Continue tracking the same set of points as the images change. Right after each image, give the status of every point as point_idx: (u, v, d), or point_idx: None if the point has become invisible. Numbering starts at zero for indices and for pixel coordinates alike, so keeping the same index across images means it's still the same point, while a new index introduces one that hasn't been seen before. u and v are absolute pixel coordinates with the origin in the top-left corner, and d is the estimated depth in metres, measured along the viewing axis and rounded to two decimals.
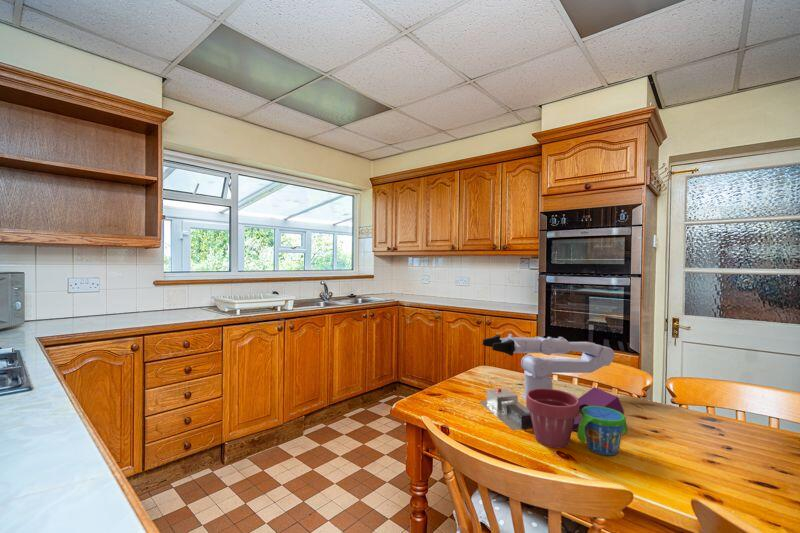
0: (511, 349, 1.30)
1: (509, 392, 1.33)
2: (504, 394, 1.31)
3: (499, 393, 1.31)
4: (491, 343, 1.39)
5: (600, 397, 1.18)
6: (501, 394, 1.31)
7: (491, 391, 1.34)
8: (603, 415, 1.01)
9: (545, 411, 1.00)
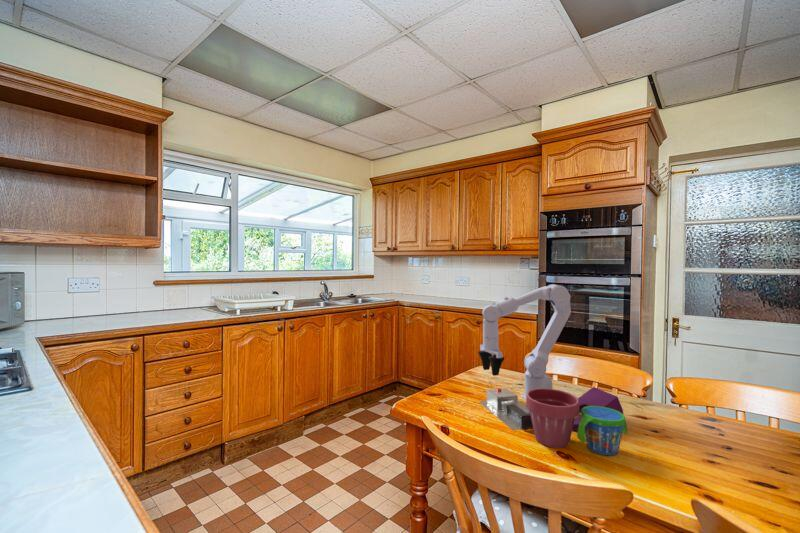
0: None
1: (509, 392, 1.33)
2: (504, 394, 1.31)
3: (499, 393, 1.31)
4: (487, 361, 1.45)
5: (599, 397, 1.18)
6: (501, 394, 1.31)
7: (491, 391, 1.34)
8: (603, 415, 1.01)
9: (545, 411, 1.00)
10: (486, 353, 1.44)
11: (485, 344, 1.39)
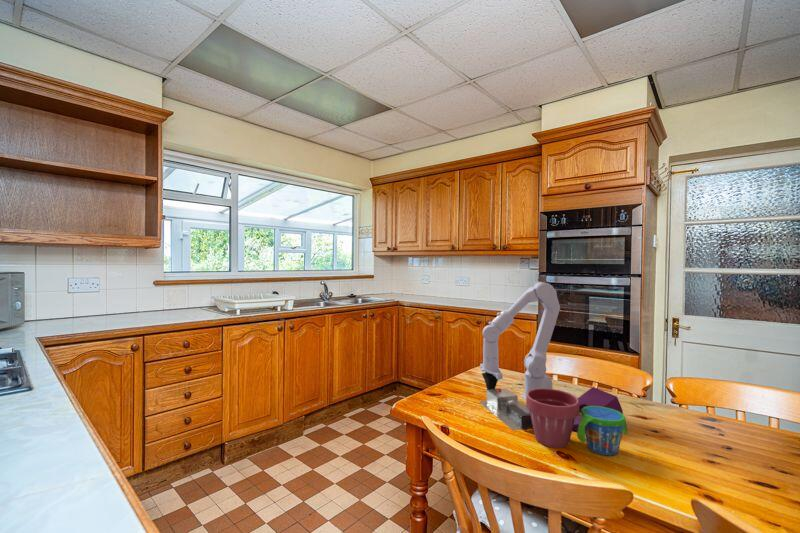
0: None
1: (509, 392, 1.33)
2: (504, 394, 1.31)
3: (499, 393, 1.31)
4: None
5: (599, 396, 1.18)
6: (501, 394, 1.31)
7: (491, 391, 1.34)
8: (603, 415, 1.01)
9: (545, 411, 1.00)
10: None
11: (485, 364, 1.39)
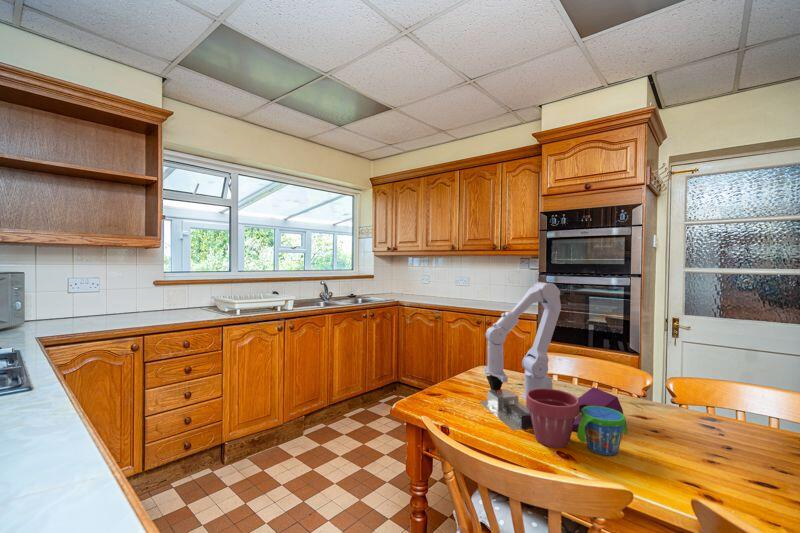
0: None
1: (510, 393, 1.32)
2: (505, 395, 1.30)
3: (499, 394, 1.31)
4: None
5: (599, 397, 1.18)
6: (502, 395, 1.30)
7: (492, 392, 1.33)
8: (603, 415, 1.01)
9: (545, 411, 1.00)
10: None
11: (490, 367, 1.36)
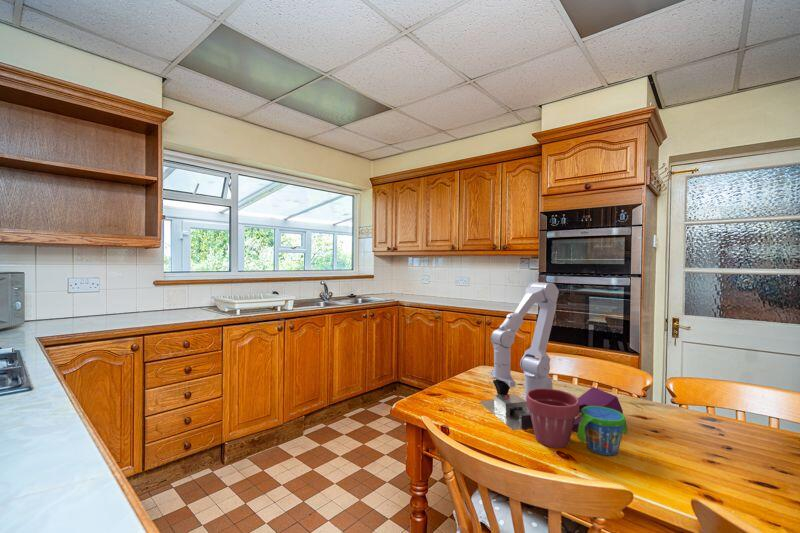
0: None
1: (518, 398, 1.27)
2: (513, 400, 1.25)
3: (507, 399, 1.26)
4: None
5: (599, 396, 1.18)
6: (509, 400, 1.25)
7: (499, 397, 1.28)
8: (603, 415, 1.01)
9: (545, 411, 1.00)
10: None
11: (496, 371, 1.31)
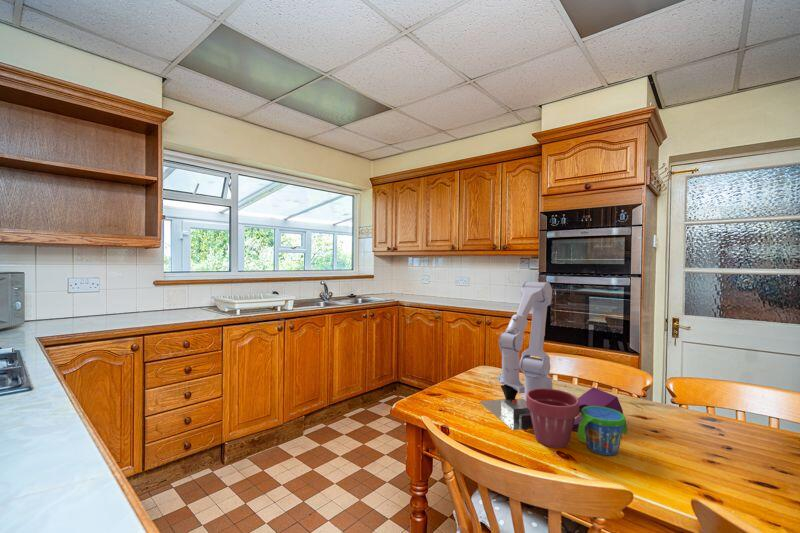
0: None
1: None
2: (521, 405, 1.20)
3: (514, 405, 1.21)
4: (511, 397, 1.27)
5: (599, 397, 1.18)
6: (517, 405, 1.21)
7: (506, 402, 1.24)
8: (603, 415, 1.01)
9: (545, 411, 1.00)
10: None
11: (505, 376, 1.25)
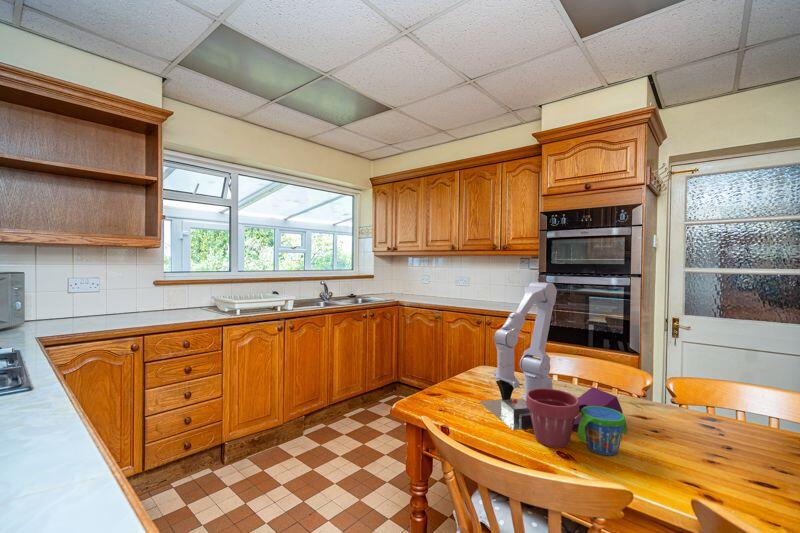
0: None
1: None
2: (521, 406, 1.20)
3: (514, 405, 1.21)
4: None
5: (599, 397, 1.18)
6: (517, 405, 1.20)
7: (506, 402, 1.24)
8: (603, 415, 1.01)
9: (545, 411, 1.00)
10: None
11: (500, 371, 1.28)
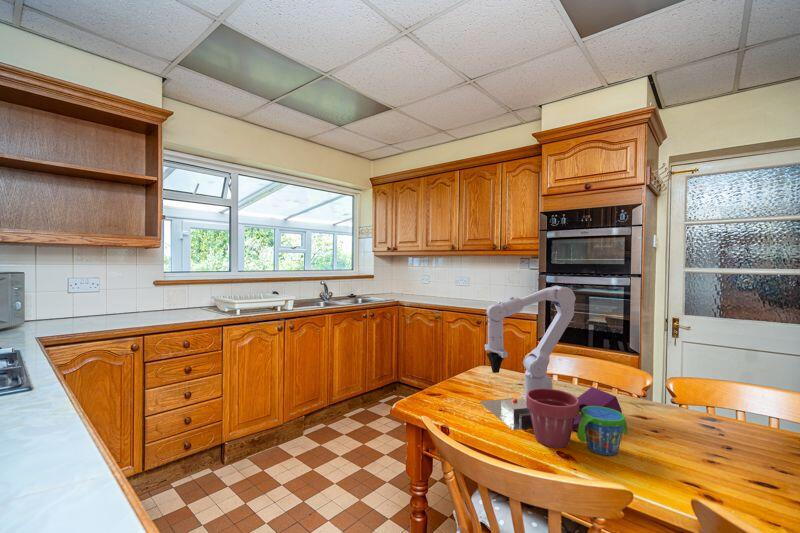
0: (499, 356, 1.37)
1: None
2: (521, 406, 1.20)
3: (514, 405, 1.21)
4: None
5: (598, 396, 1.18)
6: (517, 405, 1.20)
7: (506, 402, 1.24)
8: (603, 415, 1.01)
9: (545, 411, 1.00)
10: None
11: (490, 344, 1.38)
